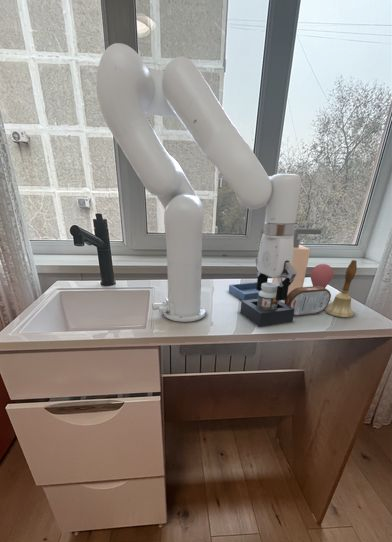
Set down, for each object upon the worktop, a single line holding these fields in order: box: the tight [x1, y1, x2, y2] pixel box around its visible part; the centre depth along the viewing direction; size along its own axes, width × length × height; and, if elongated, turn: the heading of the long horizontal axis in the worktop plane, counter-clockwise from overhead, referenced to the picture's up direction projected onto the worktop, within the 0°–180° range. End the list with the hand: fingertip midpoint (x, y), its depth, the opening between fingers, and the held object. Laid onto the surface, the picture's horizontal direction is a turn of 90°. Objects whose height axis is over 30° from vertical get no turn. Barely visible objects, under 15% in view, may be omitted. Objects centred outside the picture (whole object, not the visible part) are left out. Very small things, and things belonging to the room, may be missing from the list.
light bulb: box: [310, 263, 334, 289], centre depth 98 cm, size 7×7×12 cm
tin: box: [283, 285, 332, 317], centre depth 86 cm, size 15×3×8 cm, turn 109°
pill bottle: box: [257, 281, 278, 310], centre depth 83 cm, size 6×6×10 cm
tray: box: [228, 281, 262, 301], centre depth 103 cm, size 14×11×3 cm
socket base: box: [239, 299, 295, 328], centre depth 84 cm, size 11×11×4 cm
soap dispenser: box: [271, 228, 323, 295], centre depth 102 cm, size 13×9×22 cm
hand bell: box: [324, 259, 358, 318], centre depth 86 cm, size 8×8×16 cm
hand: (270, 294), depth 82 cm, fingers open, 9 cm apart
